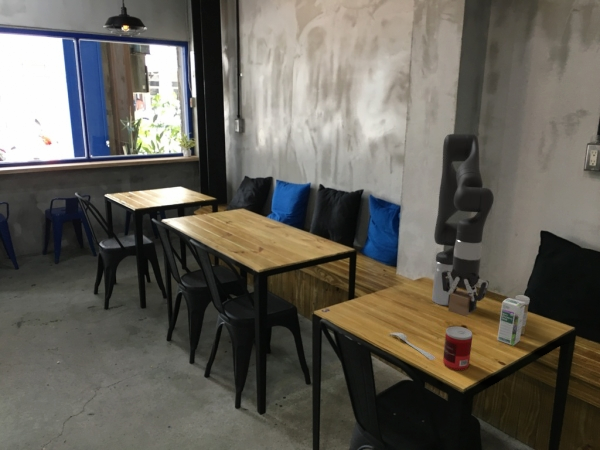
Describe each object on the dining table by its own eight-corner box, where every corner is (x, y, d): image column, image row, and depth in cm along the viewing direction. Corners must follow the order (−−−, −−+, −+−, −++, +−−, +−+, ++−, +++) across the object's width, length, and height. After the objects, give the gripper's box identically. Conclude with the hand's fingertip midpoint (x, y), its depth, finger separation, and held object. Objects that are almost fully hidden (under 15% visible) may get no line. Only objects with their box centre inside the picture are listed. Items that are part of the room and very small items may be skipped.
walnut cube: (456, 305, 147) (458, 289, 145) (473, 311, 143) (475, 294, 142) (448, 311, 143) (450, 293, 141) (465, 316, 139) (467, 299, 138)
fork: (430, 368, 150) (431, 360, 149) (386, 334, 166) (387, 327, 165) (436, 365, 151) (437, 358, 150) (392, 332, 168) (393, 326, 167)
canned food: (471, 362, 149) (474, 329, 146) (465, 373, 142) (469, 340, 139) (446, 355, 152) (449, 323, 150) (439, 366, 146) (443, 333, 143)
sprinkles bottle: (508, 329, 172) (513, 294, 168) (520, 329, 172) (525, 294, 169) (515, 335, 167) (520, 299, 164) (527, 335, 168) (532, 299, 164)
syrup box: (496, 340, 163) (501, 301, 160) (503, 335, 167) (509, 296, 164) (513, 346, 159) (519, 306, 156) (520, 340, 163) (526, 301, 160)
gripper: (496, 257, 137) (490, 312, 141) (450, 247, 146) (444, 298, 150) (486, 263, 131) (479, 319, 135) (438, 252, 141) (433, 305, 145)
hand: (461, 308), depth 143 cm, fingers closed on walnut cube, 5 cm apart
